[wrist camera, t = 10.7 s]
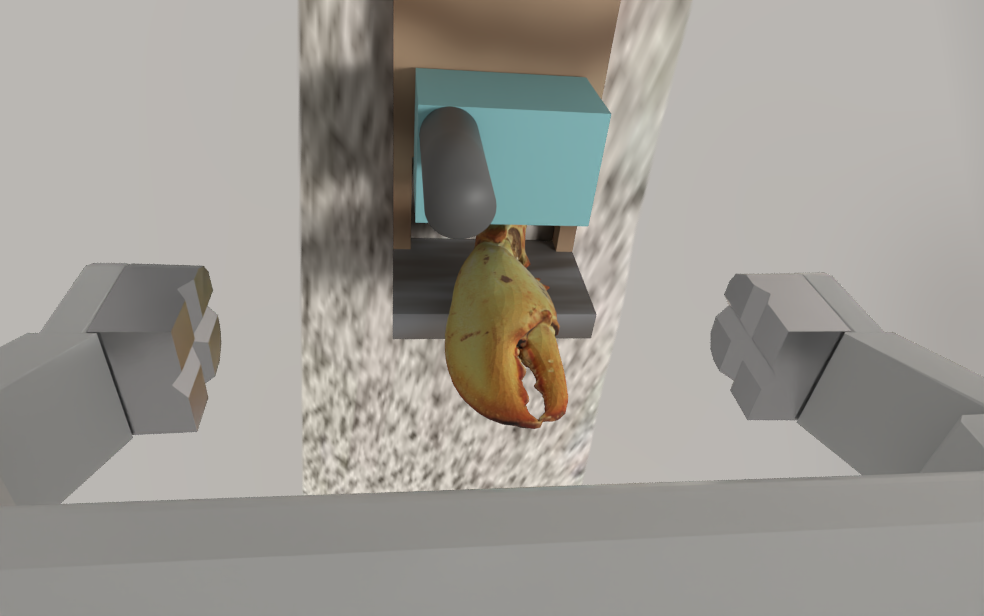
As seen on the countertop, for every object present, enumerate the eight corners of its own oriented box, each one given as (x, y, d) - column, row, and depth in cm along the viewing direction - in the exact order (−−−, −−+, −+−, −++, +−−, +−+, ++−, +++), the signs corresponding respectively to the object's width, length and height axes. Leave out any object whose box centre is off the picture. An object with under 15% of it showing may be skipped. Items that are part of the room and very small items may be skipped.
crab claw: (432, 229, 48) (448, 441, 32) (442, 163, 44) (465, 362, 29) (525, 239, 49) (584, 446, 33) (541, 176, 46) (614, 372, 30)
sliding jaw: (415, 67, 39) (422, 173, 28) (586, 77, 40) (657, 181, 29) (413, 176, 43) (418, 305, 32) (567, 181, 44) (624, 306, 33)
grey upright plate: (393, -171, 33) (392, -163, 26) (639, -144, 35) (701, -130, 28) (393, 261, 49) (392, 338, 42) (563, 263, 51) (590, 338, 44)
